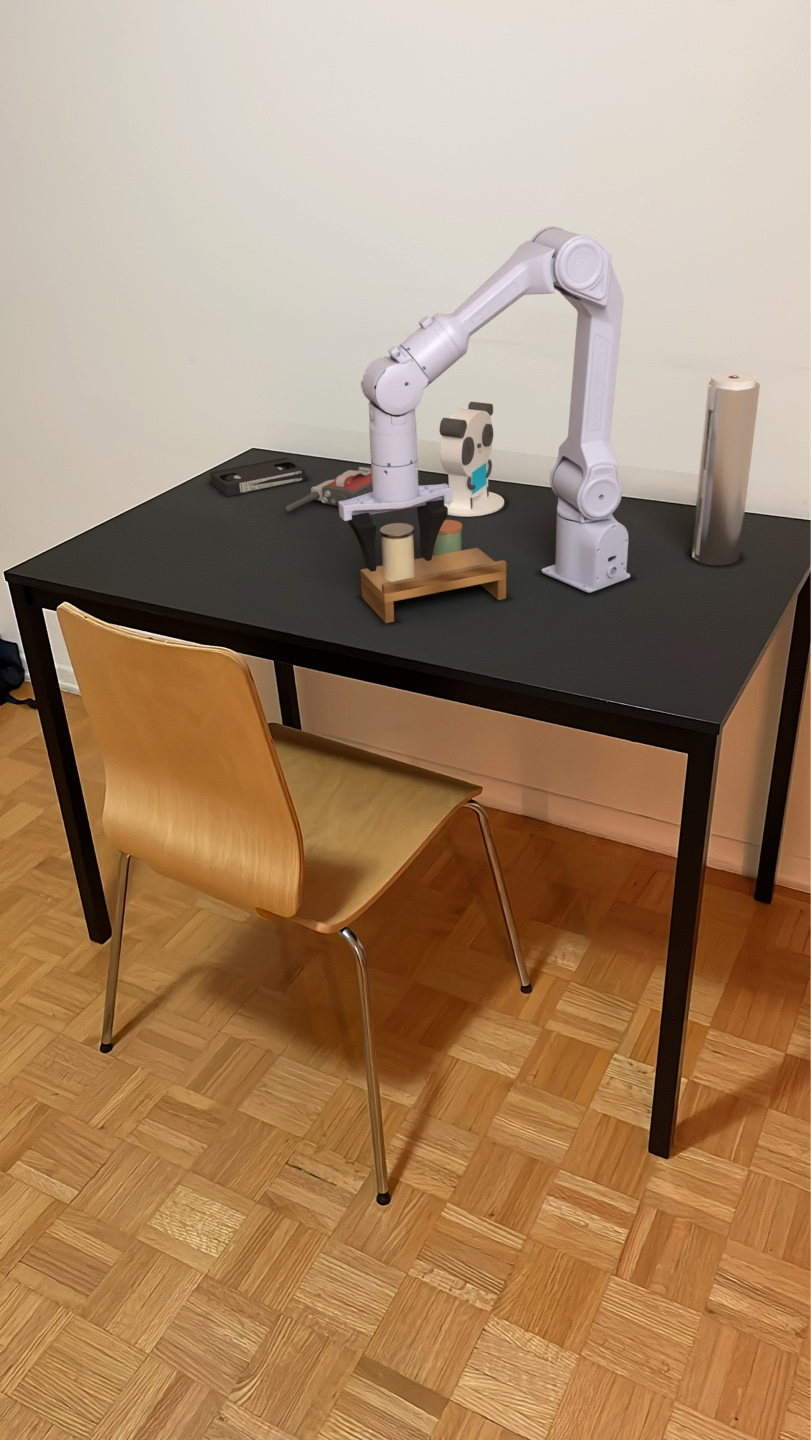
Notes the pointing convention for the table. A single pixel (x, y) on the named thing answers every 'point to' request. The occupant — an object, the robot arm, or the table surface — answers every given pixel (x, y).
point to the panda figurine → (469, 460)
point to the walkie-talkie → (339, 488)
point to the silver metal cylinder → (724, 467)
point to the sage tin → (448, 538)
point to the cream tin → (397, 551)
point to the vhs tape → (257, 476)
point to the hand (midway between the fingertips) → (398, 563)
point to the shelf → (434, 579)
